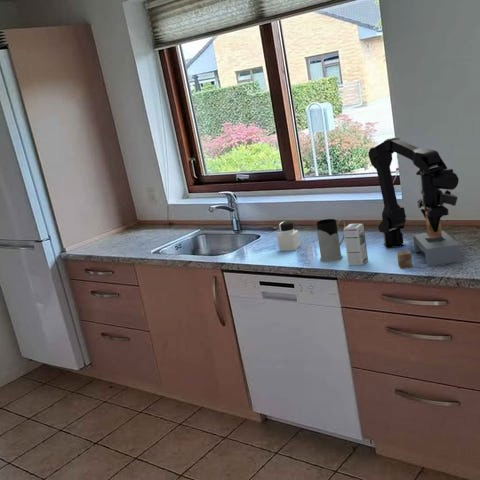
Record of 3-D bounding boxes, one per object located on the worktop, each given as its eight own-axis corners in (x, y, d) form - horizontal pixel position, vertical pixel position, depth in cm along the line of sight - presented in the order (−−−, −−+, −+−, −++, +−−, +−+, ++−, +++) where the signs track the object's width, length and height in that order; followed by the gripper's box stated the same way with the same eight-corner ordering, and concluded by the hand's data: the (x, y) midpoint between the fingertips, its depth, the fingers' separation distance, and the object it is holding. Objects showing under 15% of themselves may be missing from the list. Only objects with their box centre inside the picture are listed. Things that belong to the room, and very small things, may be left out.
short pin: (400, 268, 196) (399, 255, 195) (398, 265, 200) (397, 252, 198) (412, 267, 195) (411, 253, 194) (410, 263, 199) (408, 250, 198)
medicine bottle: (300, 245, 246) (296, 219, 243) (294, 250, 240) (290, 223, 237) (285, 246, 249) (281, 220, 246) (279, 251, 243) (275, 224, 240)
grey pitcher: (315, 260, 222) (310, 223, 218) (340, 250, 229) (336, 214, 226) (331, 263, 215) (326, 225, 211) (356, 252, 222) (352, 215, 219)
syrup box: (363, 265, 206) (358, 227, 202) (347, 265, 209) (342, 227, 206) (368, 260, 210) (363, 223, 207) (353, 260, 214) (348, 223, 210)
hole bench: (428, 265, 194) (426, 249, 192) (414, 249, 213) (413, 234, 212) (460, 261, 193) (459, 244, 191) (444, 245, 212) (443, 230, 211)
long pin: (430, 238, 200) (428, 213, 197) (427, 235, 203) (425, 211, 201) (441, 236, 199) (439, 211, 197) (438, 233, 203) (436, 209, 201)
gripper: (462, 188, 187) (465, 233, 191) (446, 179, 205) (449, 221, 209) (428, 193, 188) (432, 238, 192) (415, 184, 206) (419, 225, 210)
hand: (434, 230), depth 201 cm, fingers closed on long pin, 4 cm apart
